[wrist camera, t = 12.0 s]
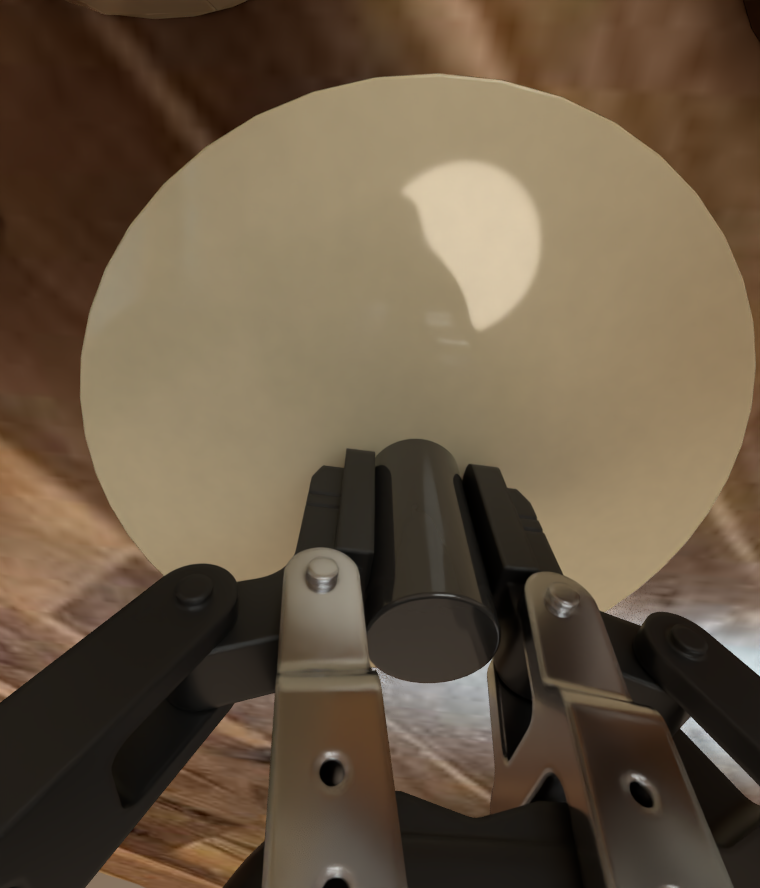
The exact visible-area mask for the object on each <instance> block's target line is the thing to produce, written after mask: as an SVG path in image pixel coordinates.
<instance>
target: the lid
mask: <svg viewBox="0 0 760 888" xmlns="http://www.w3.org/2000/svg"><path fill="white" fill-rule="evenodd" d="M755 370H756V358H755V341H754V323H753V319H752V315H751V310H750V306H749V302H748V297H747V293H746V288H745V284H744V280H743V277H742V275H741V273H740V270H739V268H738V266H737V263H736V261H735V259H734V256H733V254H732V252H731V249H730V247H729V244H728V242H727V240H726V237H725V235H724V234H723V232H722V231H721V229H720V228H719V226H718V225H717V223H716V222H715V220H714V219H713V217H712V216H711V214H710V212H709V211H708V209H707V208H706V206H705V205H704V203H703V202H702V200H701V199H700V197H699V196H698V194H697V193H696V192H695V191H694V190H693V189H692V188H691V187H690V186H689V185H688V184H687V183H686V181H685V180H684V179H683V178H682V177H681V176H680V175H679V174H678V173H677V172H676V171H675V170H674V169H673V168H672V167H671V166H670V165H669V164H668V163H667V162H666V161H665V160H664V159H663V157H662V156H661V155H659V154H658V153H657V152H655V151H654V150H653V149H651V148H650V147H648V146H647V145H646V144H644V143H643V142H641V141H640V140H639V139H637V138H636V137H635V136H633V135H632V134H630V133H629V132H628V131H626V130H625V129H623V128H622V127H621V126H619V125H618V124H617V123H615V122H613V121H611V120H609V119H607V118H605V117H603V116H601V115H599V114H597V113H595V112H593V111H590V110H588V109H586V108H584V107H582V106H580V105H578V104H576V103H574V102H572V101H570V100H568V99H565V98H563V97H561V96H558V95H554V94H551V93H547V92H544V91H540V90H537V89H533V88H529V87H526V86H522V85H519V84H515V83H512V82H508V81H505V80H499V79H490V78H480V77H471V76H461V75H452V74H442V73H434V74H418V75H402V76H386V77H374V78H370V79H365V80H361V81H357V82H352V83H348V84H344V85H339V86H335V87H331V88H326V89H322V90H318V91H314V92H311V93H309V94H306V95H304V96H301V97H299V98H297V99H294V100H292V101H289V102H287V103H284V104H282V105H280V106H277V107H275V108H272V109H270V110H267V111H265V112H263V113H260V114H258V115H256V116H254V117H252V118H251V119H249V120H248V121H246V122H244V123H243V124H241V125H240V126H238V127H236V128H235V129H233V130H232V131H230V132H228V133H227V134H225V135H223V136H222V137H220V138H219V139H217V140H215V141H214V142H212V143H211V144H209V145H207V146H206V147H205V148H204V149H202V150H201V151H200V152H199V153H198V154H197V155H196V156H194V157H193V158H192V159H191V160H190V161H189V162H188V163H186V164H185V165H184V166H183V167H182V168H181V169H180V170H178V171H177V172H176V173H175V174H174V175H173V176H172V177H170V178H169V179H168V180H167V181H166V182H165V183H164V184H163V185H162V186H161V187H160V189H159V190H158V191H157V192H156V193H155V195H154V196H153V197H152V198H151V200H150V201H149V202H148V203H147V205H146V206H145V207H144V208H143V209H142V211H141V212H140V213H139V214H138V216H137V217H136V218H135V219H134V220H133V222H132V223H131V224H130V226H129V227H128V229H127V231H126V233H125V234H124V236H123V238H122V240H121V241H120V243H119V245H118V247H117V248H116V250H115V252H114V254H113V255H112V257H111V259H110V261H109V263H108V264H107V266H106V268H105V270H104V273H103V276H102V279H101V281H100V284H99V287H98V290H97V292H96V295H95V298H94V300H93V303H92V306H91V309H90V311H89V316H88V321H87V327H86V332H85V337H84V343H83V348H82V353H81V374H80V402H81V409H82V417H83V425H84V433H85V438H86V441H87V445H88V449H89V452H90V456H91V459H92V463H93V466H94V470H95V473H96V475H97V477H98V480H99V482H100V484H101V486H102V489H103V491H104V493H105V495H106V498H107V500H108V502H109V504H110V506H111V508H112V509H113V511H114V513H115V514H116V516H117V518H118V519H119V521H120V523H121V524H122V526H123V527H124V529H125V531H126V532H127V534H128V535H129V537H130V538H131V539H132V540H133V542H134V543H135V544H136V545H137V547H138V548H139V549H140V550H141V552H142V553H143V554H144V556H145V557H146V558H147V559H148V561H149V562H150V563H151V564H152V565H153V566H154V567H155V568H156V569H157V570H158V571H159V572H160V573H161V574H162V575H163V576H165V575H167V574H168V573H170V572H171V571H173V570H175V569H178V568H180V567H183V566H187V565H191V564H198V563H206V564H213V565H217V566H220V567H222V568H224V569H226V570H227V571H229V572H230V573H231V574H232V575H233V576H234V578H235V579H236V582H238V581H244V580H250V579H256V578H261V577H265V576H268V575H271V574H273V573H275V572H277V571H279V570H281V569H282V568H284V567H285V566H286V564H287V563H288V562H289V560H290V559H291V558H292V557H293V556H294V554H295V551H296V547H297V542H298V538H299V533H300V528H301V524H302V519H303V515H304V510H305V505H306V501H307V496H308V492H309V487H310V482H311V478H312V476H313V475H314V474H315V473H316V472H317V471H318V470H319V469H320V468H321V467H322V466H323V465H325V466H333V467H341V468H344V464H345V456H346V449H347V448H349V449H358V450H366V451H374V452H375V518H374V556H373V561H372V566H371V572H370V577H369V582H368V585H367V587H366V590H365V593H364V600H363V608H364V617H365V626H366V635H367V643H368V652H369V661H370V666H371V667H377V668H378V669H380V670H381V671H382V672H384V673H386V674H388V675H390V676H392V677H395V678H398V679H401V680H405V681H410V682H417V683H439V682H447V681H452V680H456V679H459V678H462V677H465V676H468V675H470V674H472V673H474V672H476V671H477V670H479V669H481V668H482V667H483V666H485V665H486V664H487V663H488V662H489V661H490V660H491V659H492V658H493V657H494V655H495V654H496V652H497V650H498V648H499V645H500V642H501V635H502V633H501V626H500V622H499V618H498V615H497V611H496V607H495V603H494V600H493V596H492V592H491V588H490V585H489V581H488V577H487V573H486V570H485V566H484V562H483V558H482V555H481V551H480V547H479V543H478V539H477V536H476V532H475V528H474V524H473V521H472V517H471V513H470V509H469V506H468V502H467V498H466V494H465V491H464V487H463V483H462V479H463V475H464V472H465V469H466V467H467V465H468V464H477V465H484V466H492V467H498V468H499V469H500V471H501V473H502V476H503V478H504V481H505V483H506V486H507V488H513V489H517V490H518V491H519V492H520V493H521V494H522V495H523V496H524V497H525V498H526V499H527V500H528V501H529V502H530V503H531V505H532V507H533V509H534V511H535V514H536V516H537V520H539V522H540V525H541V527H542V529H543V533H545V536H546V538H547V540H548V542H549V544H550V547H551V549H552V551H553V553H554V555H555V558H556V560H557V562H558V564H559V566H560V569H561V571H562V573H563V575H564V576H567V577H569V578H571V579H573V580H574V581H576V582H577V583H579V584H580V585H581V586H583V587H584V588H585V589H586V590H587V591H588V592H589V593H590V594H591V595H592V597H593V598H594V600H595V601H596V604H597V606H598V608H599V610H600V611H602V612H606V611H607V610H609V609H611V608H612V607H614V606H615V605H616V604H618V603H619V602H621V601H622V600H623V599H625V598H626V597H628V596H629V595H630V594H632V593H633V592H635V591H636V590H637V589H639V588H640V587H641V586H642V585H643V584H644V583H645V582H647V581H648V580H649V579H650V578H651V577H652V576H653V575H655V574H656V573H657V572H658V571H659V570H660V569H662V568H663V567H664V566H665V565H666V564H667V563H668V561H669V560H670V559H671V558H672V557H673V556H674V555H675V554H676V553H677V552H678V551H679V550H680V549H681V547H682V546H683V545H684V544H685V543H686V542H687V541H688V540H689V538H690V537H691V536H692V534H693V533H694V532H695V530H696V529H697V528H698V526H699V525H700V524H701V522H702V521H703V520H704V518H705V517H706V515H707V514H708V513H709V511H710V510H711V508H712V506H713V504H714V503H715V501H716V499H717V497H718V496H719V494H720V492H721V490H722V489H723V487H724V485H725V483H726V482H727V480H728V477H729V475H730V472H731V470H732V468H733V465H734V463H735V460H736V458H737V455H738V453H739V451H740V448H741V446H742V442H743V439H744V435H745V431H746V427H747V423H748V419H749V415H750V411H751V408H752V399H753V390H754V380H755Z"/></svg>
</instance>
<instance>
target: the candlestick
mask: <svg viewBox="0 0 760 888" xmlns="http://www.w3.org/2000/svg"><path fill="white" fill-rule="evenodd" d="M744 3H745V6H746V10H747V13H748V16H749V20H750V23H751V27H752V29H753V31H754V32H755V34H756V36H757V37H758V39H759V41H760V0H744Z"/></svg>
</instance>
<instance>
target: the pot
mask: <svg viewBox="0 0 760 888" xmlns="http://www.w3.org/2000/svg"><path fill="white" fill-rule="evenodd" d="M66 1H68V2H71V3H73V4H77V5H81V6H83V7H86V8H88V9H91V10H93V11H96V12H98V13H101V14H106V15H122V16H132V17H141V18H150V19H163V18H179V17H195V16H199V15H203V14H207V13H211V12H215V11H219V10H223V9H227V8H231V7H234V6H236V5H238V4H240V3H243V2H245V1H247V0H66Z"/></svg>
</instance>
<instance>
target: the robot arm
mask: <svg viewBox="0 0 760 888" xmlns="http://www.w3.org/2000/svg"><path fill="white" fill-rule="evenodd" d="M462 483H463V487H464V491H465V494H466V498H467V502H468V506H469V509H470V513H471V517H472V521H473V524H474V528H475V532H476V536H477V539H478V543H479V547H480V551H481V555H482V558H483V562H484V566H485V570H486V573H487V577H488V581H489V585H490V588H491V592H492V596H493V600H494V603H495V607H496V611H497V615H498V618H499V622H500V626H501V633H502V635H501V642H500V645H499V648H498V650H497V652H496V654H495V655H494V657H493V658H492V661H491V663H490V665H489V668H488V671H487V682H488V694H489V705H490V717H491V729H492V740H493V752H494V764H495V775H494V784H493V789H492V794H491V802H490V815H487V816H484V817H479V818H472V817H468V816H465V815H463V814H460V813H457V812H455V811H452V810H449V809H447V808H444V807H441V806H439V805H436V804H433V803H431V802H428V801H426V800H423V799H420V798H418V797H415V796H412V795H410V794H407V793H404V792H402V791H395V787H394V780H393V772H392V764H391V757H390V749H389V742H388V734H387V726H386V719H385V711H384V703H383V696H382V689H381V683H380V679H379V676H378V673H377V672H376V671H372V670H371V666H370V661H369V652H368V643H367V635H366V626H365V617H364V608H363V600H364V593H365V590H366V587H367V585H368V582H369V577H370V572H371V566H372V561H373V556H374V518H375V452H374V451H366V450H358V449H349V448H347V449H346V456H345V464H344V468H341V467H333V466H325V465H323V466H322V467H321V468H320V469H319V470H318V471H317V472H316V473H315V474H314V475H313V476H312V478H311V482H310V487H309V492H308V496H307V501H306V505H305V510H304V515H303V519H302V524H301V528H300V533H299V538H298V542H297V547H296V551H295V554H294V556H293V557H292V558H291V559H290V560H289V562H288V563H287V564H286V566H285V567H284V568H282V569H281V570H279V571H277V572H275V573H273V574H271V575H268V576H265V577H261V578H256V579H250V580H244V581H238V582H236V579H235V578H234V576H233V575H232V574H231V573H230V572H229V571H227V570H226V569H224V568H222V567H220V566H217V565H213V564H206V563H198V564H191V565H187V566H183V567H180V568H178V569H175V570H173V571H171V572H170V573H168V574H167V575H165V576H164V577H162V578H161V579H160V580H159V581H157V582H156V583H155V584H153V585H152V586H151V587H149V588H148V589H147V590H146V591H144V592H143V593H142V594H140V595H139V596H138V597H136V598H135V599H134V600H133V601H131V602H130V603H129V604H127V605H126V606H125V607H124V608H122V609H121V610H120V611H118V612H117V613H116V614H114V615H113V616H112V617H111V618H109V619H108V620H107V621H105V622H104V623H103V624H102V625H100V626H99V627H98V628H96V629H95V630H94V631H92V632H91V633H90V634H89V635H87V636H86V637H85V638H83V639H82V640H81V641H80V642H78V643H77V644H76V645H74V646H73V647H72V648H70V649H69V650H68V651H67V652H65V653H64V654H63V655H61V656H60V657H59V658H58V659H56V660H55V661H54V662H52V663H51V664H50V665H48V666H47V667H46V668H45V669H43V670H42V671H41V672H39V673H38V674H37V675H36V676H34V677H33V678H32V679H30V680H29V681H28V682H26V683H25V684H24V685H23V686H21V687H20V688H19V689H17V690H16V691H15V692H13V693H12V694H11V695H10V696H8V697H7V698H6V699H4V700H3V701H2V702H1V703H0V888H85V887H86V886H87V885H88V883H89V882H90V881H91V880H92V879H93V877H94V876H95V875H96V874H97V872H98V871H99V870H100V869H101V867H102V866H103V865H104V864H105V863H106V861H107V860H108V859H109V858H110V856H111V855H112V854H113V853H114V851H115V850H116V849H117V848H118V847H119V845H120V844H121V843H122V842H123V840H124V839H125V838H126V837H127V836H128V834H129V833H130V832H131V831H132V829H133V828H134V827H135V826H136V824H137V823H138V822H139V821H140V820H141V818H142V817H143V816H144V815H145V813H146V812H147V811H148V810H149V808H150V807H151V806H152V805H153V804H154V802H155V801H156V800H157V799H158V797H159V796H160V795H161V794H162V792H163V791H164V790H165V789H166V788H167V786H168V785H169V784H170V783H171V781H172V780H173V779H174V778H175V777H176V775H177V774H178V773H179V772H180V770H181V769H182V768H183V767H184V765H185V764H186V763H187V762H188V761H189V759H190V758H191V757H192V756H193V754H194V753H195V752H196V751H197V749H198V748H199V747H200V746H201V745H202V743H203V742H204V741H205V740H206V738H207V737H208V736H209V735H210V733H211V732H212V731H213V730H214V729H215V727H216V726H217V725H218V724H219V722H220V721H221V720H222V719H223V718H224V716H225V715H226V714H227V713H228V711H229V710H230V709H231V707H232V706H233V705H234V703H236V702H240V701H244V700H248V699H252V698H256V697H260V696H264V695H268V694H272V693H275V702H274V716H273V731H272V745H271V760H270V774H269V789H268V803H267V818H266V832H265V841H264V842H263V843H262V844H261V845H260V846H258V847H257V848H256V849H255V850H254V851H253V852H252V853H251V854H250V855H249V856H248V857H247V858H246V859H245V861H244V862H243V863H242V864H241V865H240V867H239V868H238V869H237V870H236V871H235V873H234V874H233V875H232V876H231V878H230V879H229V880H228V881H227V883H226V884H225V885H224V887H223V888H760V806H759V805H757V804H755V803H753V802H752V801H750V800H749V799H748V798H746V797H745V796H744V795H743V794H742V793H741V792H740V791H739V790H738V789H737V788H736V787H735V786H734V785H733V783H732V782H731V781H730V780H729V779H728V778H727V777H726V776H725V775H724V774H723V773H722V772H721V771H720V770H719V769H718V768H717V767H716V766H715V765H714V764H713V763H712V761H711V760H710V759H709V758H708V757H707V756H706V755H705V754H704V753H703V752H702V751H701V750H700V749H699V748H698V747H697V746H696V745H695V744H694V743H693V742H692V741H691V740H690V738H689V737H688V736H687V735H686V734H685V733H684V732H683V731H682V730H681V729H680V728H681V727H682V725H683V724H684V723H685V722H686V721H687V720H688V719H689V718H690V716H691V717H692V718H693V719H694V720H695V721H696V722H697V723H698V724H699V725H700V726H701V727H702V728H703V729H704V730H705V731H706V732H707V733H708V734H709V735H710V736H711V737H712V738H713V739H714V740H715V741H716V742H717V743H718V744H719V745H720V746H721V747H722V748H723V749H724V750H725V751H726V752H727V753H728V754H729V755H730V756H731V757H732V758H733V759H734V760H735V761H736V762H737V763H738V764H739V765H740V766H741V767H742V768H743V769H744V770H745V771H746V772H747V773H748V775H749V776H750V777H751V778H752V779H753V780H754V781H755V782H756V783H757V784H758V785H759V786H760V676H759V675H757V674H756V673H755V672H754V671H753V670H752V669H750V668H749V667H748V666H747V665H746V664H744V663H743V662H742V661H741V660H740V659H738V658H737V657H736V656H735V655H734V654H733V653H731V652H730V651H729V650H728V649H727V648H725V647H724V646H723V645H722V644H721V643H719V642H718V641H717V640H716V639H715V638H713V637H712V636H711V635H710V634H709V633H708V632H706V631H705V630H704V629H702V628H701V627H700V626H698V625H697V624H695V623H693V622H692V621H690V620H688V619H686V618H684V617H681V616H679V615H676V614H672V613H668V612H656V613H652V614H651V615H649V616H648V617H647V618H646V620H645V621H644V623H643V624H642V626H640V625H637V624H634V623H631V622H629V621H626V620H623V619H620V618H617V617H615V616H612V615H609V614H607V613H604V612H602V611H600V610H599V608H598V606H597V604H596V601H595V600H594V598H593V597H592V595H591V594H590V593H589V592H588V591H587V590H586V589H585V588H584V587H583V586H581V585H580V584H579V583H577V582H576V581H574V580H573V579H571V578H569V577H567V576H564V575H563V573H562V571H561V569H560V566H559V564H558V562H557V560H556V558H555V555H554V553H553V551H552V549H551V547H550V544H549V542H548V540H547V538H546V536H545V533H543V529H542V527H541V525H540V522H539V520H537V516H536V514H535V511H534V509H533V507H532V505H531V503H530V502H529V501H528V500H527V499H526V498H525V497H524V496H523V495H522V494H521V493H520V492H519V491H518V490H517V489H513V488H507V486H506V483H505V481H504V478H503V476H502V473H501V471H500V469H499V468H498V467H492V466H484V465H477V464H468V465H467V467H466V469H465V472H464V475H463V479H462Z"/></svg>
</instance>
